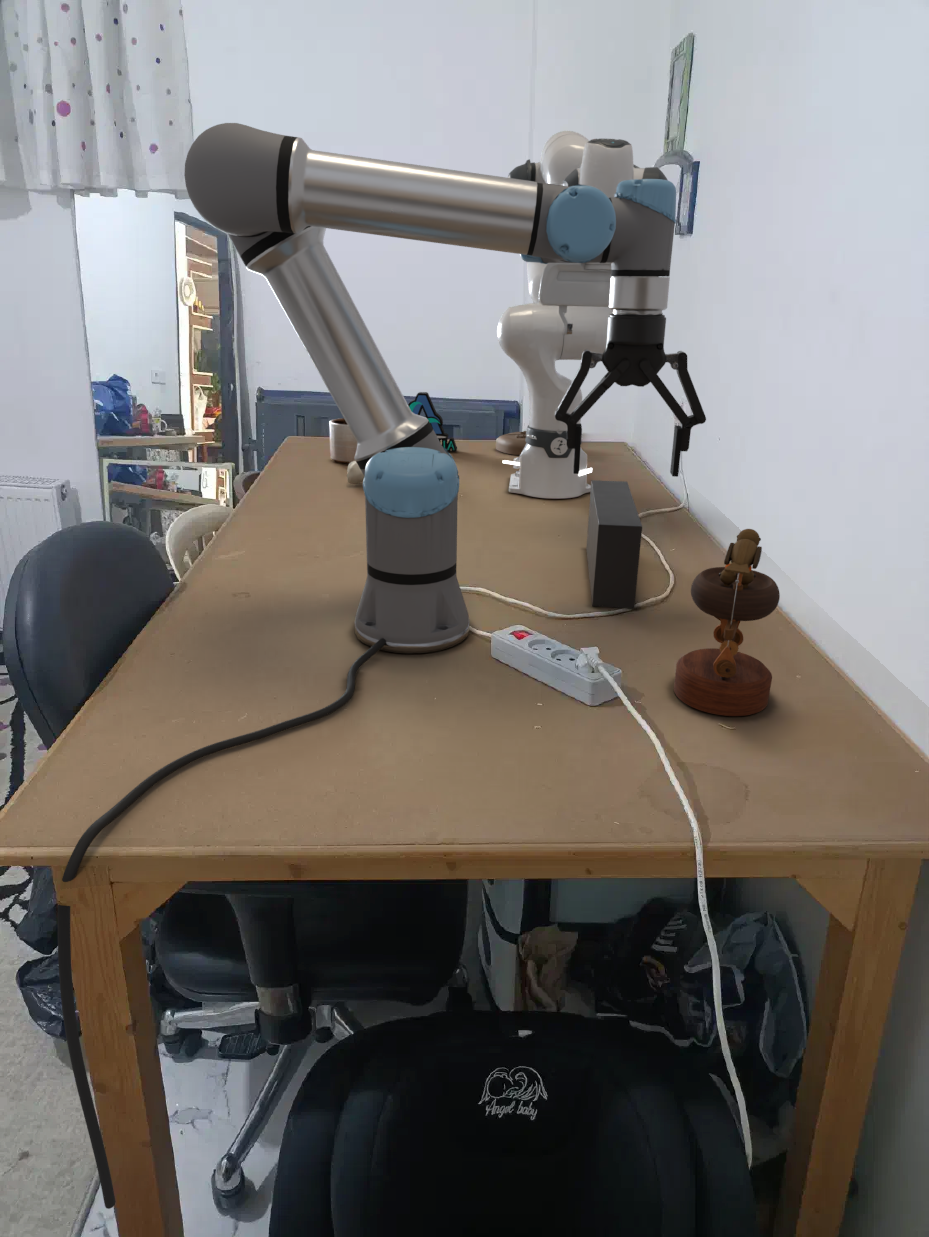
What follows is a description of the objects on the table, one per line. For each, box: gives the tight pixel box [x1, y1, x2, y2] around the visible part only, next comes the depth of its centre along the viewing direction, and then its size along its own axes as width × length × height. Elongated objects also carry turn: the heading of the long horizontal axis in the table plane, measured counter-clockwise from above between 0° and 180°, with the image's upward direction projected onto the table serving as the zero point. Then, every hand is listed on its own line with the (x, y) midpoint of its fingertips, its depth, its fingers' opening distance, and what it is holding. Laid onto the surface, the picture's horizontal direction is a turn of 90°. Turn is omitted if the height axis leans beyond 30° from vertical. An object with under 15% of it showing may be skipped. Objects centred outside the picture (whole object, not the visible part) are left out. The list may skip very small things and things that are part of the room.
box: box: [585, 479, 643, 609], centre depth 133 cm, size 28×6×12 cm, turn 174°
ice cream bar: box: [495, 430, 527, 456], centre depth 223 cm, size 21×28×4 cm
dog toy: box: [346, 461, 364, 485], centre depth 190 cm, size 20×6×5 cm, turn 99°
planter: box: [328, 417, 357, 464], centre depth 212 cm, size 11×11×10 cm
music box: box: [673, 528, 781, 717], centre depth 94 cm, size 15×11×20 cm
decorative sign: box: [407, 391, 458, 453], centre depth 224 cm, size 19×2×15 cm, turn 86°
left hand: (624, 473), depth 119 cm, fingers open, 13 cm apart
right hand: (595, 335), depth 147 cm, fingers open, 8 cm apart
